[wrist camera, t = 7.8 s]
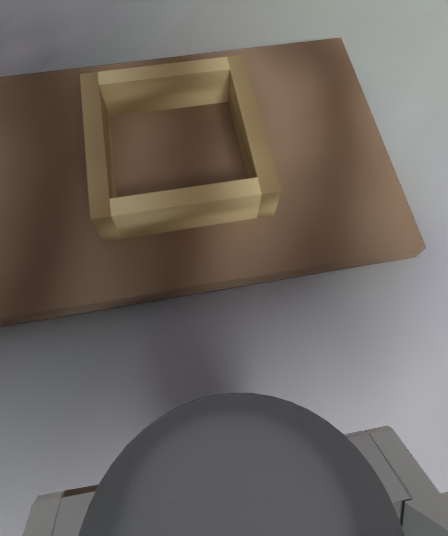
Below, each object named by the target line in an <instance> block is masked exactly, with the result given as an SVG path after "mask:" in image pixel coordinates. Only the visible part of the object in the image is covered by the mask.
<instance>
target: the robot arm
mask: <svg viewBox="0 0 448 536" xmlns="http://www.w3.org/2000/svg"><path fill="white" fill-rule="evenodd" d="M344 435H345V436H346V437H347V438H348V439H349V440H350V441H351V442H352V443H353V444H354V445H355V446H356V447H357V448H358V449H359V451H360V452H361V453H362V455H363V456H364V457H365V458H366V460H367V461H368V462H369V463H370V465H371V466H372V467H373V469H374V470H375V472H376V474H377V475H378V477H379V479H380V480H381V482H382V483H383V485H384V487H385V488H386V491H387V493H388V495H389V497H390V499H391V501H392V503H393V505H394V507H395V509H396V512H397V515H398V518H399V521H400V523H401V526H402V529H403V532H404V535H405V536H448V492H445V493H440V492H439V491H438V490H437V488H436V487H435V486H434V484H433V483H432V481H431V480H430V479H429V477H428V476H427V475H426V473H425V472H424V471H423V469H422V468H421V467H420V465H419V464H418V462H417V461H416V460H415V458H414V457H413V456H412V454H411V453H410V452H409V450H408V449H407V448H406V446H405V445H404V443H403V442H402V441H401V439H400V438H399V437H398V435H397V434H396V433H395V431H394V430H393V429H392V428H391V427H389V426H383V427H379V428H374V429H369V430H365V431H358V432H353V433H349V434H344ZM98 486H99V485H95V486H89V487H83V488H77V489H72V490H66V491H62V492H57V493H51V494H46V495H40V496H38V497H37V499H36V500H35V502H34V503H33V505H32V507H31V511H30V514H29V517H28V520H27V524H26V527H25V530H24V533H23V536H79V532H80V528H81V526H82V523H83V520H84V517H85V515H86V512H87V509H88V506H89V504H90V502H91V500H92V498H93V496H94V494H95V492H96V490H97V488H98Z"/></svg>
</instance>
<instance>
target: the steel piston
mask: <svg viewBox="0 0 448 536" xmlns="http://www.w3.org/2000/svg"><path fill="white" fill-rule="evenodd" d="M79 536H405V535H404V532H403V529H402V526H401V523H400V521H399V518H398V515H397V512H396V509H395V507H394V505H393V503H392V501H391V499H390V497H389V495H388V493H387V491H386V488H385V487H384V485H383V483H382V482H381V480H380V479H379V477H378V475H377V474H376V472H375V470H374V469H373V467H372V466H371V465H370V463H369V462H368V461H367V460H366V458H365V457H364V456H363V455H362V453H361V452H360V451H359V449H358V448H357V447H356V446H355V445H354V444H353V443H352V442H351V441H350V440H349V439H348V438H347V437H346V436H345V435H344V434H343V433H341V432H340V431H339V430H338V429H336V428H335V427H334V426H333V425H331V424H330V423H329V422H328V421H326V420H324V419H323V418H321V417H320V416H318V415H316V414H315V413H313V412H311V411H310V410H308V409H306V408H303V407H301V406H299V405H297V404H294V403H292V402H289V401H286V400H283V399H279V398H276V397H273V396H267V395H261V394H254V393H229V394H221V395H214V396H210V397H206V398H202V399H198V400H195V401H192V402H190V403H187V404H185V405H182V406H180V407H178V408H176V409H174V410H172V411H171V412H169V413H167V414H165V415H163V416H162V417H160V418H159V419H157V420H156V421H155V422H153V423H152V424H151V425H149V426H148V427H147V428H145V429H144V430H143V431H142V432H141V433H140V434H138V435H137V436H136V437H135V438H134V439H133V440H132V441H131V442H130V443H129V444H128V445H127V446H126V447H125V449H124V450H123V451H122V452H121V454H120V455H119V456H118V457H117V458H116V460H115V461H114V462H113V463H112V465H111V466H110V468H109V470H108V471H107V473H106V474H105V476H104V477H103V479H102V481H101V482H100V484H99V486H98V488H97V490H96V492H95V494H94V496H93V498H92V500H91V502H90V504H89V506H88V509H87V512H86V515H85V517H84V520H83V523H82V526H81V528H80V532H79Z"/></svg>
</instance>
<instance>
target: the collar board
mask: <svg viewBox="0 0 448 536" xmlns="http://www.w3.org/2000/svg"><path fill="white" fill-rule="evenodd" d="M425 248H426V247H425V244H424V242H423V239H422V237H421V234H420V232H419V230H418V227H417V225H416V222H415V220H414V217H413V215H412V212H411V210H410V207H409V205H408V202H407V200H406V197H405V195H404V192H403V190H402V188H401V185H400V183H399V180H398V178H397V175H396V173H395V170H394V168H393V165H392V163H391V160H390V158H389V155H388V153H387V150H386V148H385V145H384V143H383V141H382V138H381V136H380V133H379V131H378V128H377V126H376V123H375V121H374V118H373V116H372V113H371V111H370V108H369V106H368V103H367V101H366V99H365V96H364V94H363V91H362V89H361V86H360V84H359V81H358V79H357V76H356V74H355V71H354V69H353V66H352V64H351V61H350V59H349V56H348V54H347V52H346V49H345V47H344V44H343V42H342V39H341V38H334V39H325V40H317V41H308V42H299V43H291V44H282V45H274V46H265V47H256V48H248V49H239V50H230V51H222V52H213V53H204V54H196V55H187V56H178V57H170V58H161V59H153V60H144V61H135V62H127V63H118V64H109V65H101V66H92V67H83V68H75V69H66V70H58V71H49V72H40V73H32V74H23V75H14V76H6V77H0V327H1V326H7V325H13V324H19V323H25V322H31V321H37V320H43V319H49V318H55V317H61V316H67V315H73V314H79V313H85V312H90V311H96V310H102V309H108V308H114V307H120V306H126V305H132V304H138V303H144V302H150V301H156V300H162V299H168V298H174V297H180V296H186V295H192V294H198V293H204V292H209V291H215V290H221V289H227V288H233V287H239V286H245V285H251V284H257V283H263V282H269V281H275V280H281V279H287V278H293V277H299V276H305V275H311V274H317V273H323V272H328V271H334V270H340V269H346V268H352V267H358V266H364V265H370V264H376V263H382V262H388V261H394V260H400V259H406V258H412V257H416V256H417V255H418V254H419V253H420V252H422V251H423V250H424V249H425Z"/></svg>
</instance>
